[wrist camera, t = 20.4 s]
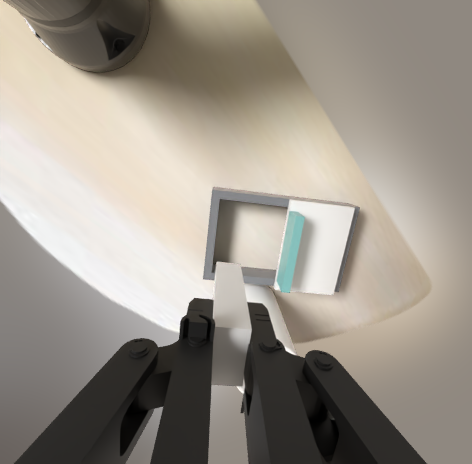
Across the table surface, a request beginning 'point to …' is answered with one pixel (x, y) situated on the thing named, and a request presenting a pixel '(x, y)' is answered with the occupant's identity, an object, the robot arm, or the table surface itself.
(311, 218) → the cover
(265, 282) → the grey shallow rectangular tray
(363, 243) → the table surface
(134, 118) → the table surface
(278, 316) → the cup
